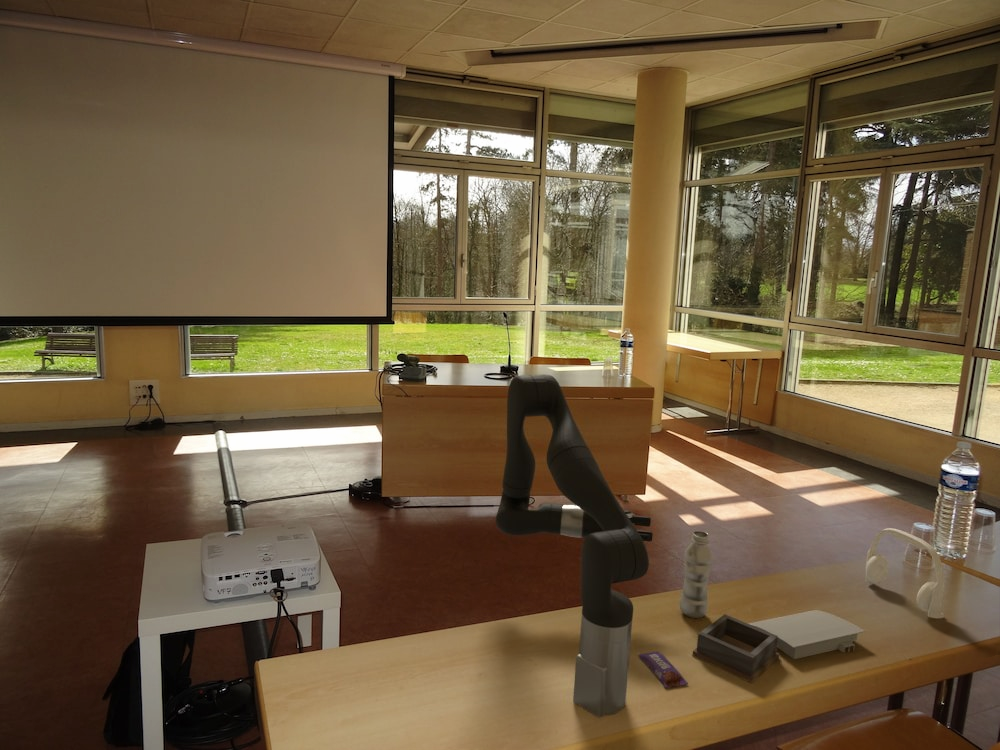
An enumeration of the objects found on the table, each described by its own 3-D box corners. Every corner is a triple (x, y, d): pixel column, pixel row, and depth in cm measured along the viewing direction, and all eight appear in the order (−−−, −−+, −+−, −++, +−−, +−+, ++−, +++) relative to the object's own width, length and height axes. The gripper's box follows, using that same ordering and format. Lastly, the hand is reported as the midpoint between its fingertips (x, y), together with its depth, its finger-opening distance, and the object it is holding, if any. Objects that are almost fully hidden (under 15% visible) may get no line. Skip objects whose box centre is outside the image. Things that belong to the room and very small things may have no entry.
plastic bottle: (703, 608, 167) (712, 529, 164) (709, 623, 161) (718, 541, 157) (676, 605, 168) (684, 527, 164) (680, 620, 161) (688, 538, 158)
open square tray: (751, 683, 139) (754, 660, 138) (692, 655, 147) (694, 633, 147) (778, 657, 148) (781, 636, 147) (721, 632, 157) (723, 612, 156)
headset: (856, 584, 183) (865, 520, 180) (877, 581, 186) (886, 517, 183) (925, 623, 165) (937, 552, 162) (946, 619, 167) (958, 549, 164)
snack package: (637, 650, 146) (659, 647, 148) (637, 658, 146) (658, 655, 148) (666, 683, 135) (689, 679, 137) (665, 692, 136) (688, 688, 137)
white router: (873, 650, 153) (876, 634, 153) (792, 669, 145) (794, 652, 144) (818, 615, 167) (820, 600, 167) (741, 631, 159) (743, 615, 158)
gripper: (581, 518, 157) (654, 525, 155) (583, 495, 171) (651, 502, 168) (578, 549, 159) (651, 557, 156) (581, 524, 172) (648, 531, 170)
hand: (651, 529), depth 162 cm, fingers open, 8 cm apart
